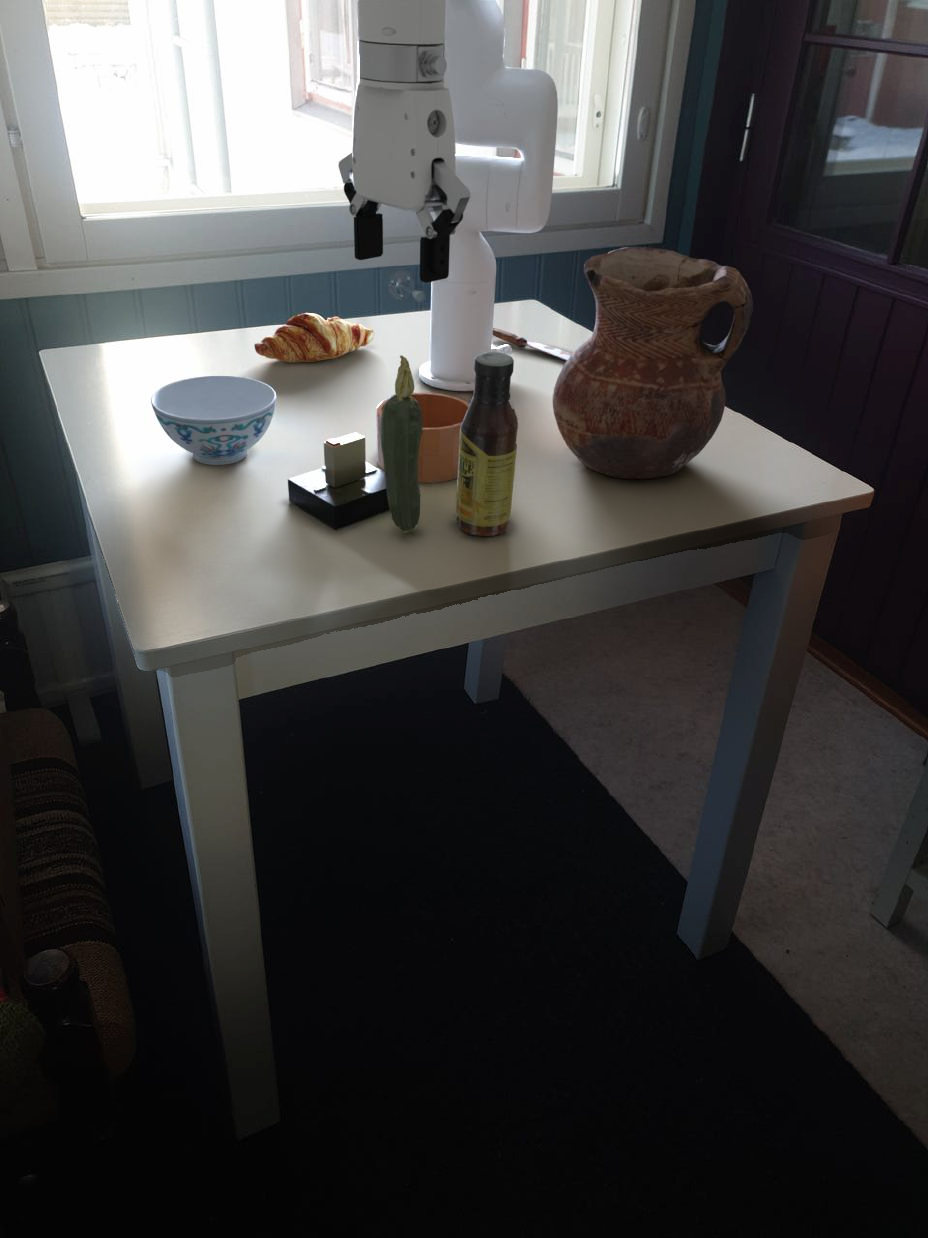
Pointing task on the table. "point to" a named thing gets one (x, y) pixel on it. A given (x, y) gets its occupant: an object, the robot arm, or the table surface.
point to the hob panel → (340, 497)
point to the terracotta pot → (434, 436)
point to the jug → (649, 362)
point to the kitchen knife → (530, 344)
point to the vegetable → (402, 450)
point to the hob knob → (344, 459)
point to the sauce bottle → (487, 449)
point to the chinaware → (215, 415)
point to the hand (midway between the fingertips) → (400, 268)
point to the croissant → (313, 339)
